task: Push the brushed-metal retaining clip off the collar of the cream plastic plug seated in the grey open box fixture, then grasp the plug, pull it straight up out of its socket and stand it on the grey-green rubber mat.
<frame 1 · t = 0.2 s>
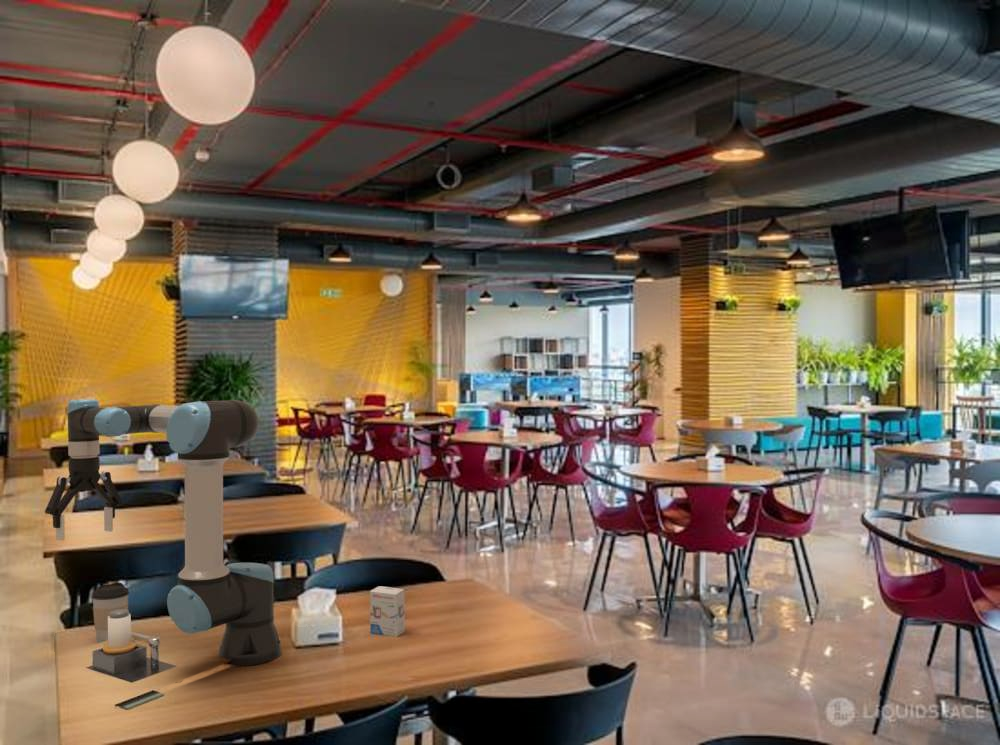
hand: (85, 535, 226), 28 cm above the table, fingers open, 13 cm apart
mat: (133, 698, 185), on the table
ink box: (387, 633, 229), on the table
grey open box fixture: (131, 673, 200), on the table
clip: (134, 636, 204), point 8 cm above the table, hinge at 0.0°
coffee cup: (111, 642, 223), on the table
plug: (119, 665, 201), point 1 cm above the table, touching grey open box fixture
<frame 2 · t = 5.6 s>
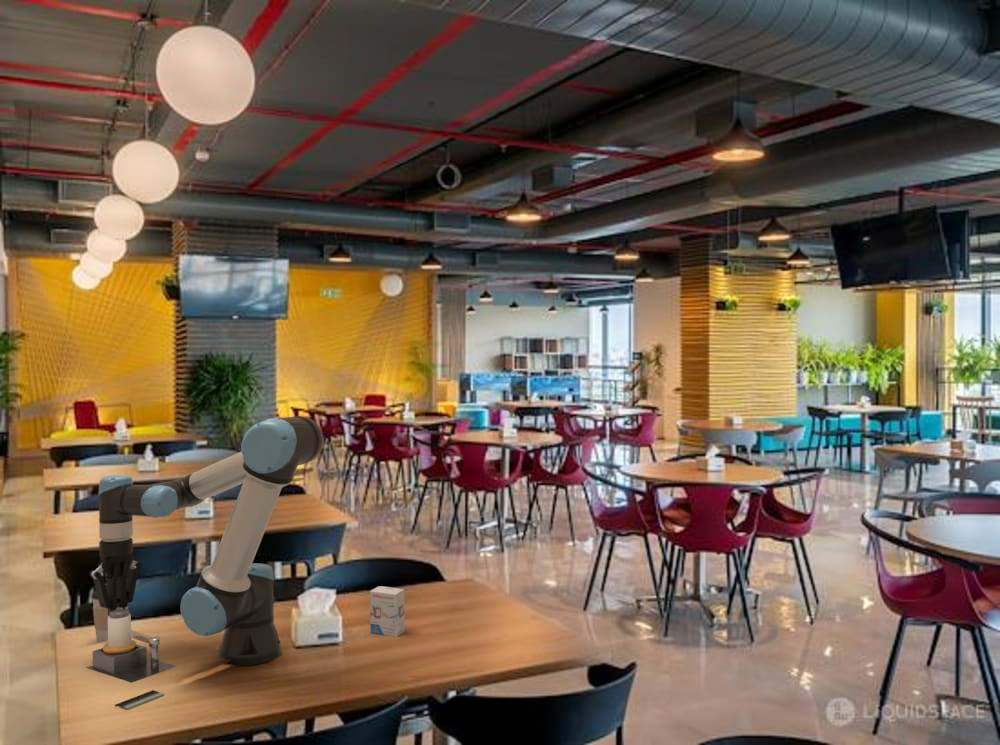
hand: (116, 633, 207), 7 cm above the table, fingers closed
clip: (136, 635, 204), point 8 cm above the table, hinge at -4.3°, touching gripper
everything else where it was.
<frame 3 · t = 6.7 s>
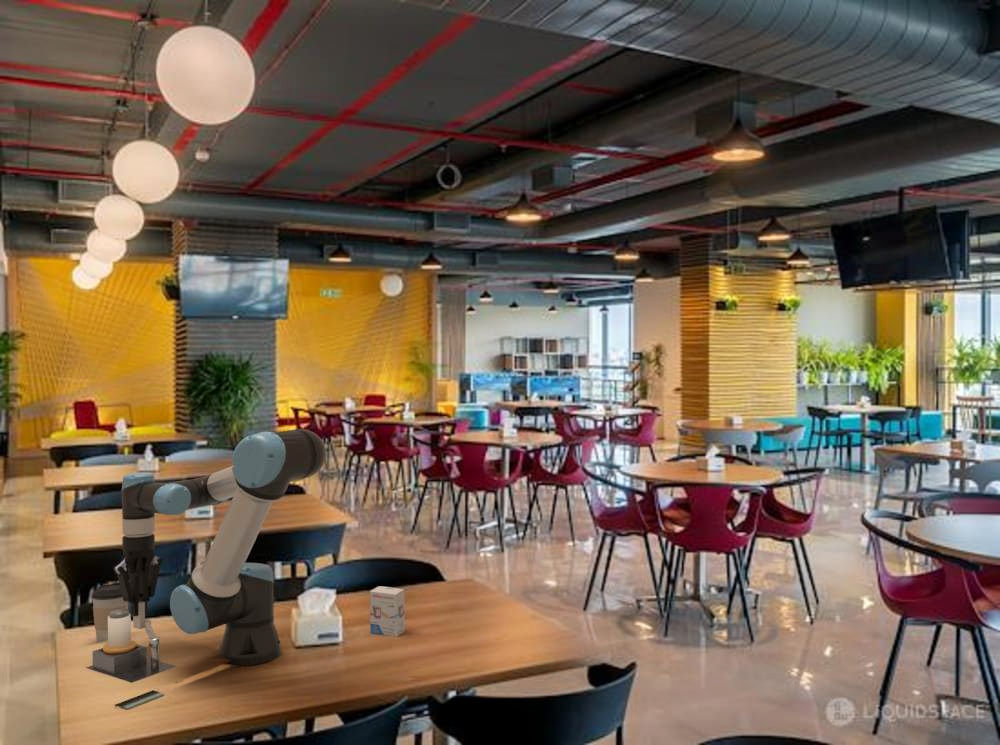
hand: (139, 627, 212), 7 cm above the table, fingers closed
clip: (150, 632, 207), point 8 cm above the table, hinge at -28.7°, touching gripper
everything else where it was.
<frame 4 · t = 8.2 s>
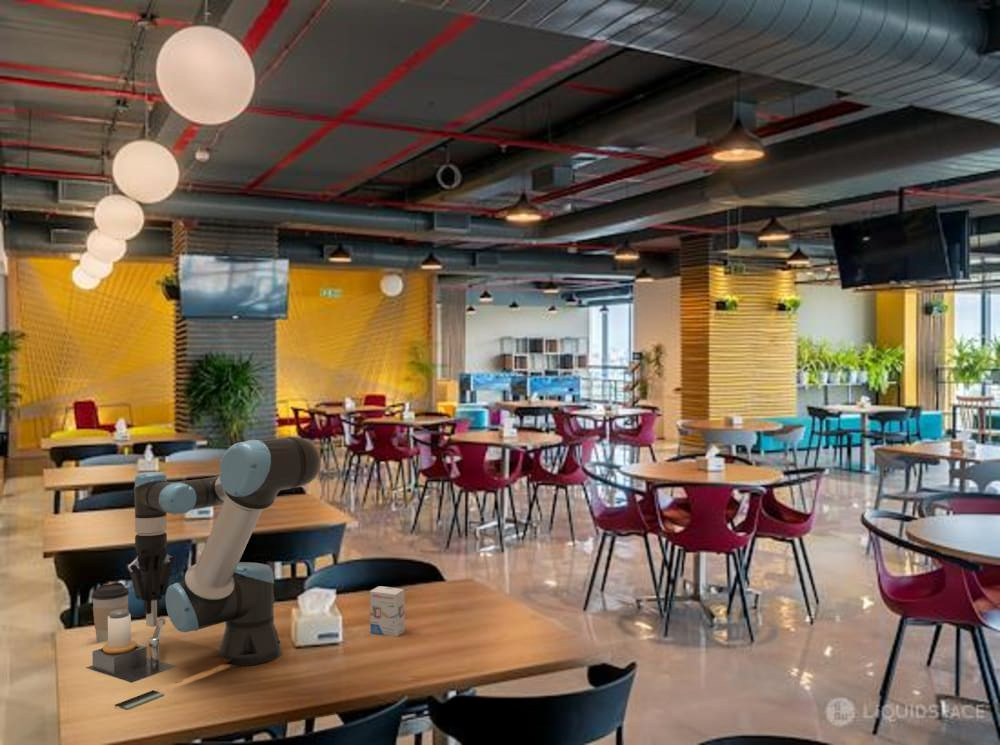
hand: (151, 625, 214), 7 cm above the table, fingers closed
clip: (157, 631, 207), point 8 cm above the table, hinge at -41.2°, touching gripper
everything else where it was.
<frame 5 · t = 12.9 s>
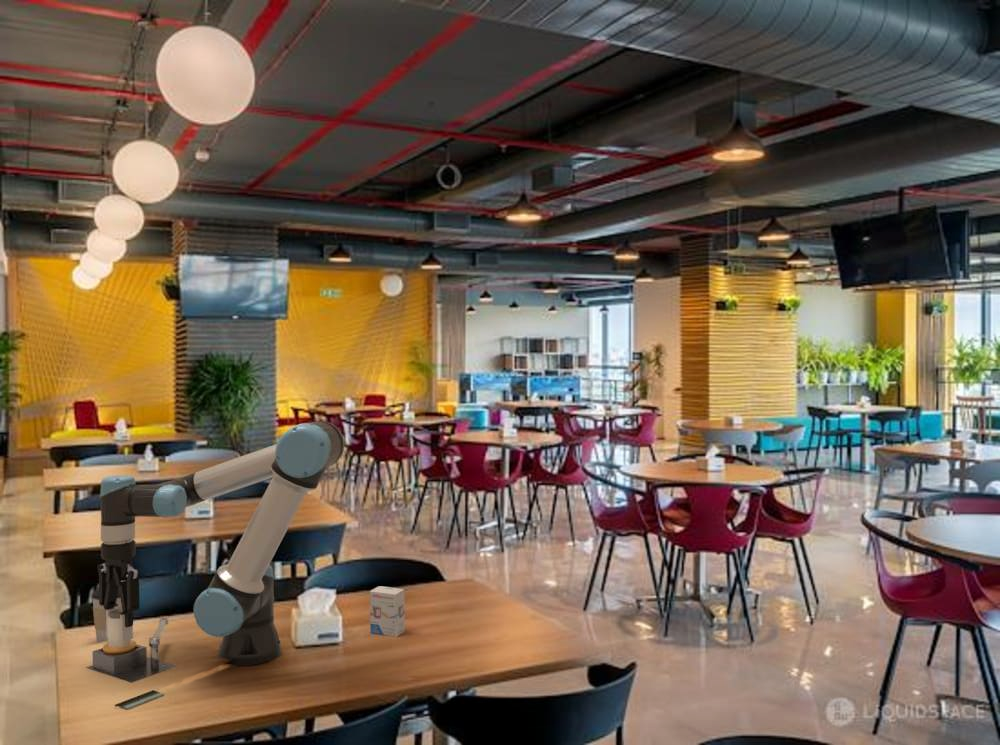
hand: (119, 637, 201), 8 cm above the table, fingers closed on plug, 5 cm apart
clip: (159, 631, 207), point 8 cm above the table, hinge at -43.5°
plug: (119, 665, 201), point 1 cm above the table, touching gripper, grey open box fixture
everything else where it was.
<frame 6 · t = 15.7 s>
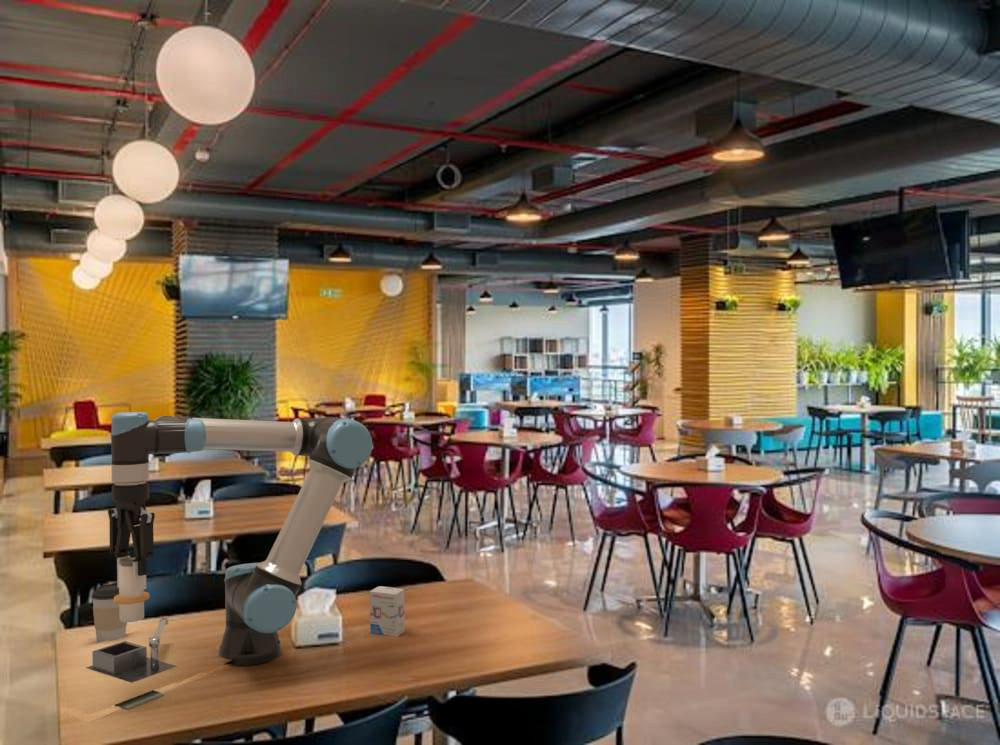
hand: (131, 587, 185), 24 cm above the table, fingers closed on plug, 5 cm apart
plug: (131, 618, 185), point 18 cm above the table, touching gripper
everything else where it was.
when the fingers open (8 cm above the table, at t = 18.9 s): plug drops 1 cm, resting on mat.
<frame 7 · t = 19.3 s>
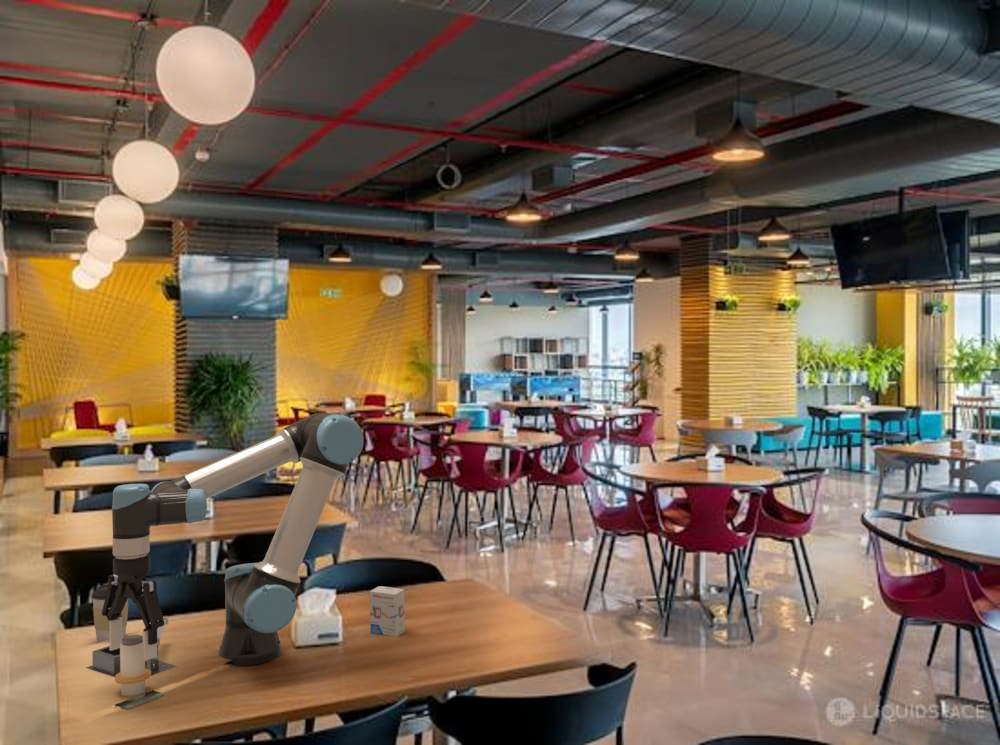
hand: (132, 653, 185), 10 cm above the table, fingers open, 11 cm apart
plug: (133, 696, 185), resting on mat
everything else where it was.
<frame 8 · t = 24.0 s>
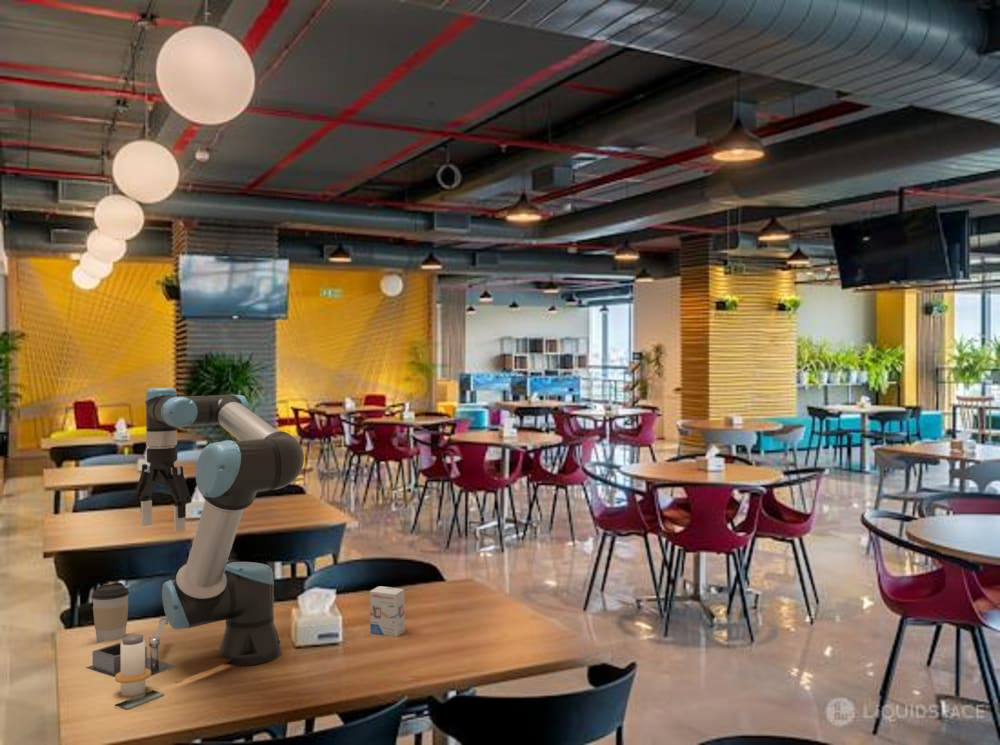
hand: (162, 527, 220), 31 cm above the table, fingers open, 13 cm apart
nothing on the table moved.
at the end: clip at -44° (first picture: +0°); plug inside the target area on the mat (0.0 cm from its centre), point 0.4 cm above the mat's base; plug tilted 1° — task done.
